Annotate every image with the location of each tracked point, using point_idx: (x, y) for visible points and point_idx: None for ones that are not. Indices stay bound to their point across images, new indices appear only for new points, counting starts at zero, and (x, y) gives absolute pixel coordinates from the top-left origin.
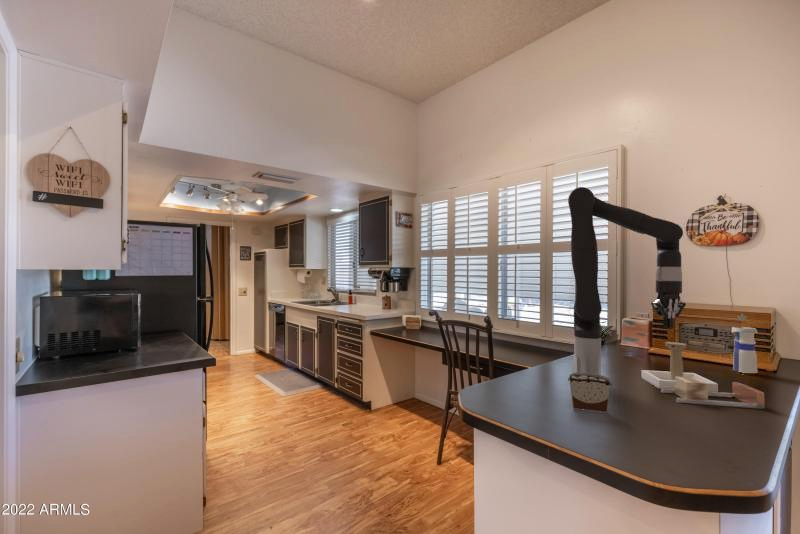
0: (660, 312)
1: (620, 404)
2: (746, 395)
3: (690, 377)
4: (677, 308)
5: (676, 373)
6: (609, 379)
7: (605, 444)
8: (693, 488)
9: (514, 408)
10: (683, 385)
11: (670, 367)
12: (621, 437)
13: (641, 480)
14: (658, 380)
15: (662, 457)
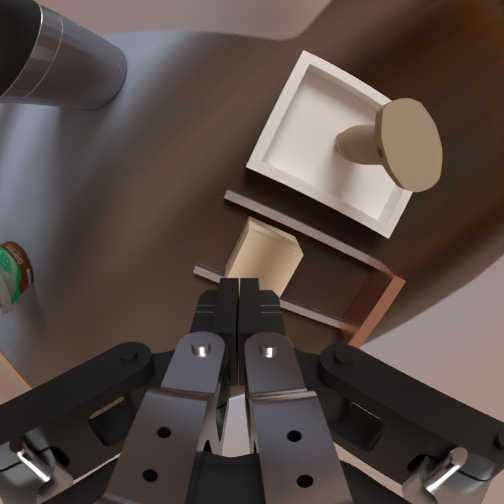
0: (124, 388)
1: (65, 252)
2: (359, 309)
3: (289, 251)
4: (383, 453)
5: (344, 154)
6: (2, 309)
7: (14, 346)
8: None
9: None
10: (229, 268)
11: (349, 132)
12: (29, 343)
13: (28, 387)
14: (248, 162)
15: (50, 379)
